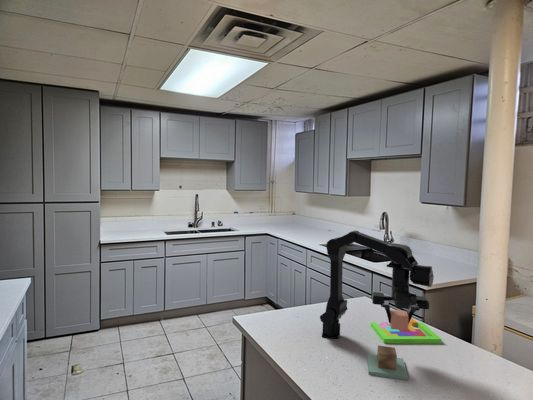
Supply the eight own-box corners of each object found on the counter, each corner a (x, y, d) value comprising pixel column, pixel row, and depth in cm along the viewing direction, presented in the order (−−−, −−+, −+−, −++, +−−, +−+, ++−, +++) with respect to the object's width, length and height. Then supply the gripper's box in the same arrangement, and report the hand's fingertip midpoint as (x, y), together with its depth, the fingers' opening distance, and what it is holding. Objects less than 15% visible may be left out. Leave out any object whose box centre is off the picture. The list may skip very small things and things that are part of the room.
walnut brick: (378, 367, 119) (378, 353, 119) (377, 359, 124) (377, 345, 124) (396, 370, 118) (396, 355, 117) (394, 361, 123) (394, 347, 123)
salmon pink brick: (391, 328, 126) (391, 315, 126) (389, 322, 132) (389, 309, 131) (407, 330, 125) (408, 316, 125) (405, 324, 130) (406, 311, 130)
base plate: (368, 374, 117) (368, 371, 117) (367, 356, 128) (367, 353, 128) (407, 380, 114) (407, 377, 114) (402, 361, 125) (403, 358, 125)
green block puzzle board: (441, 344, 140) (412, 319, 165) (441, 339, 140) (413, 314, 165) (383, 344, 139) (364, 319, 164) (384, 338, 139) (364, 314, 164)
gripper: (374, 285, 121) (372, 330, 122) (434, 290, 117) (431, 336, 118) (372, 276, 132) (370, 317, 133) (426, 280, 128) (424, 323, 129)
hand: (398, 323), depth 128 cm, fingers closed on salmon pink brick, 6 cm apart
